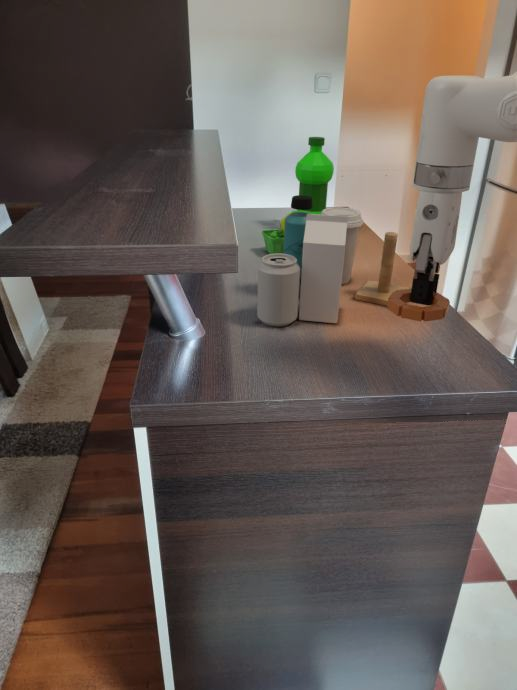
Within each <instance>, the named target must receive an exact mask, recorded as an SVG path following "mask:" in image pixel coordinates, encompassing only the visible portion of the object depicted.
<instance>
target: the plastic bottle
mask: <svg viewBox="0 0 517 690" xmlns="http://www.w3.org/2000/svg"><path fill="white" fill-rule="evenodd" d="M325 140H326V138H325V137H324V136H323V137H322V136H308V142H307V143H308V144H307V145H308V146H309V151H308V152H307V153H306V154H305V155H304V156H303V157H301V158H300V160H298V162H297V163H296V166H295V173H294V174H295V178H296V180H297V181H298V182H299V183H298V184H299V185H298V188H299V189H298V195H306V196H310V197H312V205H313V207H312V209H309V210H297V209H296V211H298V212H306V213H310V214H318V215H321V213H322V211H323V210H324V209H327V202H328V201H327V199H328V188H329V183H330V181H331V180H332V179H333V176H334V171H335V170H334V169H335V167H334V163H333V162H332V160H331V159H330V158H329V157H328V155H326V154H325V153H324V152H323V147H324V146H325Z"/></svg>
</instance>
